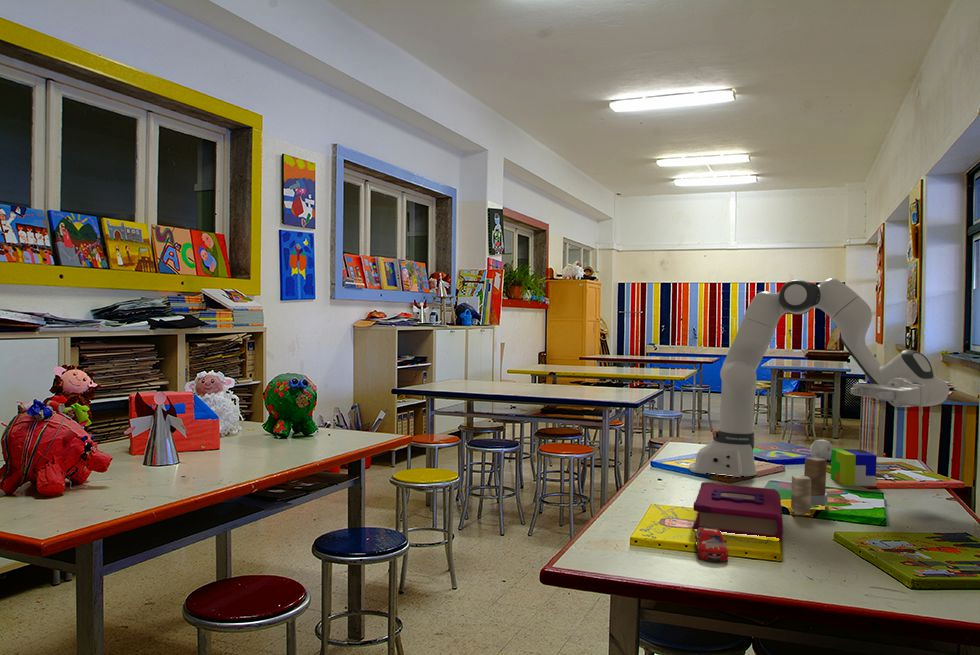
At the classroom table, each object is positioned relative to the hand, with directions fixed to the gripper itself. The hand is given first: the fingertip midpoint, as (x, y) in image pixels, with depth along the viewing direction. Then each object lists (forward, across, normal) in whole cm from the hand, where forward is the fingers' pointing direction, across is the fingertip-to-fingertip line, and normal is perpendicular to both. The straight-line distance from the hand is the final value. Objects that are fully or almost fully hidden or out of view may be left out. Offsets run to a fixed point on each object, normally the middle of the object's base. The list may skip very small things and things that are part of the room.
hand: (864, 393), depth 217 cm
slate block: (+21, +3, +32) cm, 38 cm away
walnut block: (+20, +3, +28) cm, 35 cm away
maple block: (+29, +8, +32) cm, 44 cm away
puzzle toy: (-16, -19, +32) cm, 41 cm away
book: (+52, +11, +33) cm, 62 cm away
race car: (+73, +30, +32) cm, 85 cm away
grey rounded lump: (-32, -51, +32) cm, 68 cm away
